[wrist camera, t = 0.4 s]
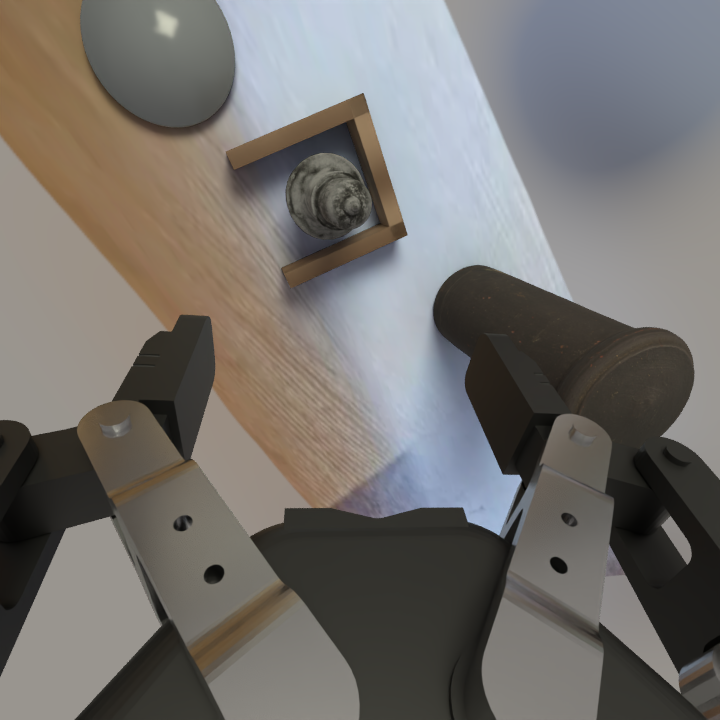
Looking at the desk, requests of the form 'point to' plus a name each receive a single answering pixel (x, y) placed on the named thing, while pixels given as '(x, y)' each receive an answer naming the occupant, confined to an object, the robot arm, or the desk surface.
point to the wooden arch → (373, 171)
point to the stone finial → (327, 196)
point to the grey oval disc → (161, 56)
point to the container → (574, 351)
